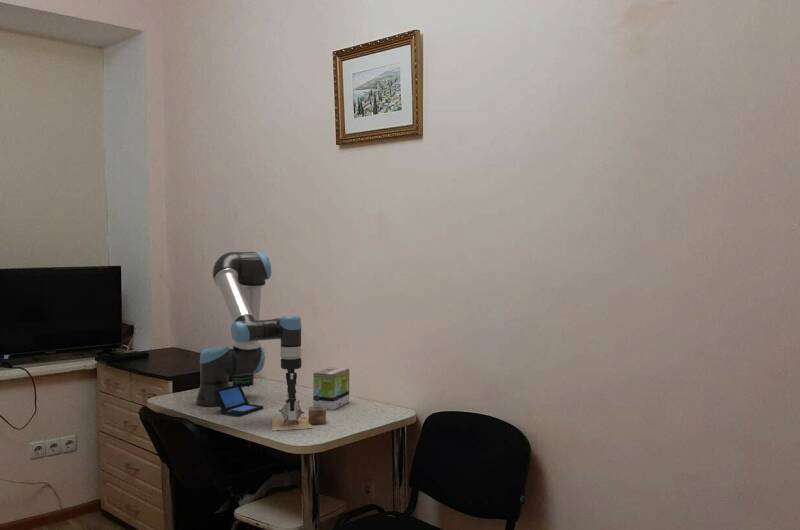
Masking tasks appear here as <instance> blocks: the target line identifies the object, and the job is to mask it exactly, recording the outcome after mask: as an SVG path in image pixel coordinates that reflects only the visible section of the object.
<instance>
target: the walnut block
mask: <svg viewBox="0 0 800 530" xmlns="http://www.w3.org/2000/svg"><path fill="white" fill-rule="evenodd" d="M308 416H309V417H308V421H309V424H311V425H326V424H325V423H326V421H327V409H326V408H325V407H313V406H308Z"/></svg>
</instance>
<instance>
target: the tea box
mask: <svg viewBox="0 0 800 530" xmlns="http://www.w3.org/2000/svg"><path fill="white" fill-rule="evenodd" d="M312 388H313V390H312V394H313V396H312V397H313V400H312V407H325V408H326V410H331V411H335V410H336V409H338V408H341V407H342V406H344V405H346V403H347V404H349V403H350V368H347V367H346V368H345V367H331V366H329V367H326V368H323V369H321V370H318V371H315V372H313V387H312ZM348 402H349V403H348Z"/></svg>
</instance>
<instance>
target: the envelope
mask: <svg viewBox="0 0 800 530" xmlns="http://www.w3.org/2000/svg"><path fill="white" fill-rule="evenodd" d="M308 417H309V415H301V416H300V417H299V419H298V420H297V422H298V423H296V422H285V423H284V421H285V420H284V418H283V416H282V417H272V423H271V424H272V432H278V431H277V430H284V431H293V430H292V429H301V430H308V429H307V428H312V429H313V426H312V425H313V424H309V421H308Z"/></svg>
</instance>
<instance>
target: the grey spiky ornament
mask: <svg viewBox="0 0 800 530" xmlns="http://www.w3.org/2000/svg"><path fill="white" fill-rule="evenodd" d="M284 401H285V404H284V405H283V407H282V408H281V409H278V412H279V413H280V412H281V416H282V417H283V418H284V420H285V421H284V423H285V422H296V423H298V422H297V420H298V419H299V417H300V416H302V414H303V415H304V414H305V412H304V411H302V408H301V405H300V400H298V401H296V420H288V402H287V400H284Z"/></svg>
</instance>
